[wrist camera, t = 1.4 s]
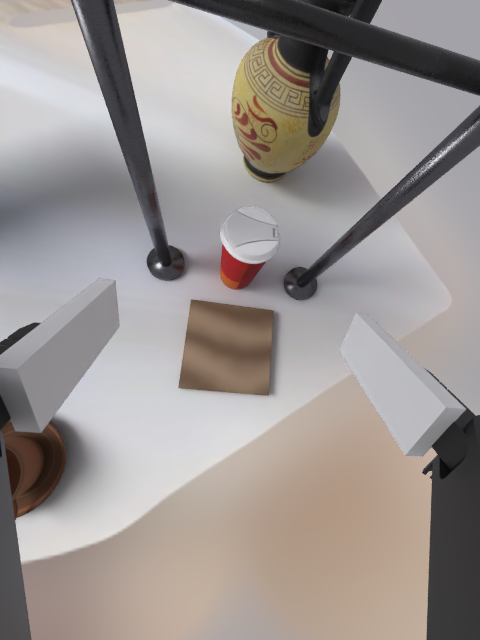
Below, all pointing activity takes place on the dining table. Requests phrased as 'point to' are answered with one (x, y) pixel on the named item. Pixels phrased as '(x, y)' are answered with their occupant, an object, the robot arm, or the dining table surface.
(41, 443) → the cup and saucer
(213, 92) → the dining table surface
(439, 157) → the frame
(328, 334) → the dining table surface
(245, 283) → the paper cup
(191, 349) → the walnut board
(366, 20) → the amphora
